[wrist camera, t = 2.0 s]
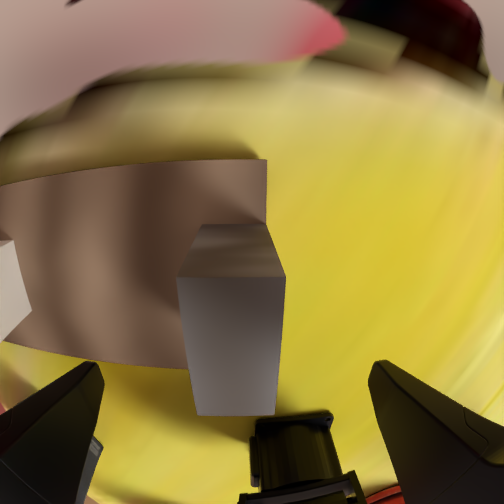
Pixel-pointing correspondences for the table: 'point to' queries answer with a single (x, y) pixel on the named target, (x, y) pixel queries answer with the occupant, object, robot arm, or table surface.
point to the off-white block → (11, 290)
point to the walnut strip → (155, 273)
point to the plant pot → (387, 497)
